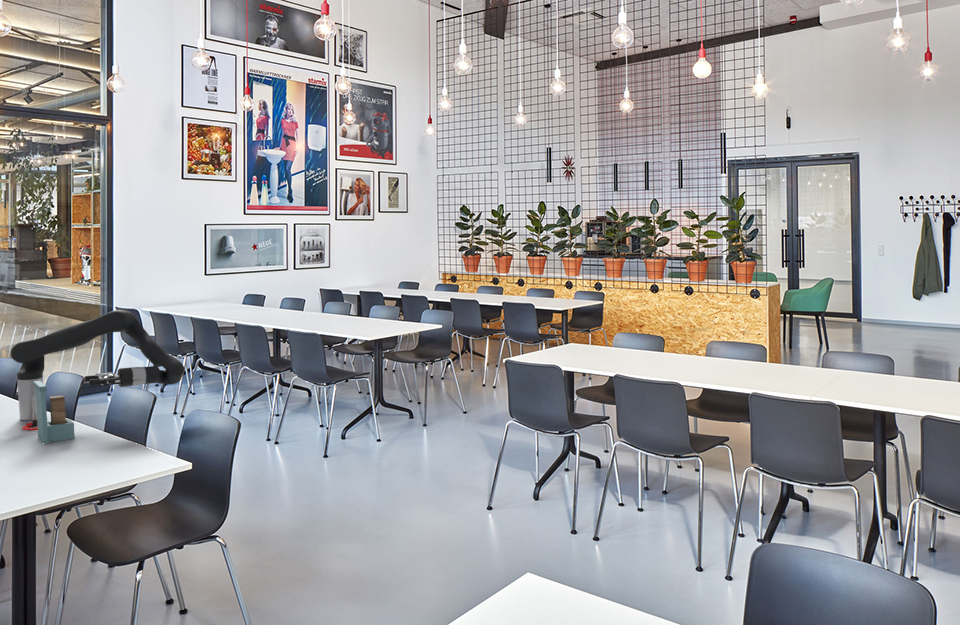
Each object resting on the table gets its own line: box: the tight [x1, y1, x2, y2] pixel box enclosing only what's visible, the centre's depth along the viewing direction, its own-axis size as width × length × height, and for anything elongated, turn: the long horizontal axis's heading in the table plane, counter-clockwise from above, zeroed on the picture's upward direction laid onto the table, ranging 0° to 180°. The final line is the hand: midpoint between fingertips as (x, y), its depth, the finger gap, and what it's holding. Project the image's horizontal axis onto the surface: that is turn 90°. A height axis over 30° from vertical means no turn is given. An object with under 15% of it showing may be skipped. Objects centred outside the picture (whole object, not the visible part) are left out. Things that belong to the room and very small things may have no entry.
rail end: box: [49, 395, 67, 425], centre depth 275 cm, size 4×4×16 cm
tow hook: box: [22, 395, 38, 431], centre depth 290 cm, size 8×13×9 cm
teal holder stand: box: [33, 381, 76, 445], centre depth 274 cm, size 14×11×22 cm
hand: (87, 380), depth 280 cm, fingers open, 8 cm apart
